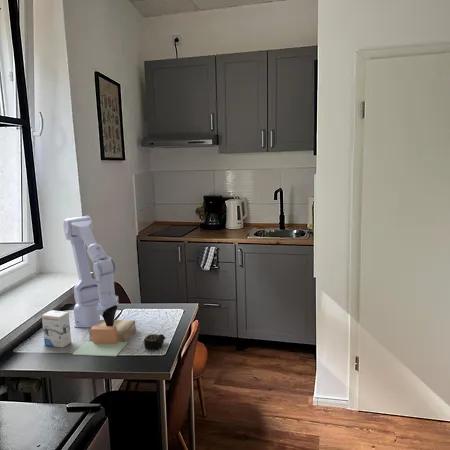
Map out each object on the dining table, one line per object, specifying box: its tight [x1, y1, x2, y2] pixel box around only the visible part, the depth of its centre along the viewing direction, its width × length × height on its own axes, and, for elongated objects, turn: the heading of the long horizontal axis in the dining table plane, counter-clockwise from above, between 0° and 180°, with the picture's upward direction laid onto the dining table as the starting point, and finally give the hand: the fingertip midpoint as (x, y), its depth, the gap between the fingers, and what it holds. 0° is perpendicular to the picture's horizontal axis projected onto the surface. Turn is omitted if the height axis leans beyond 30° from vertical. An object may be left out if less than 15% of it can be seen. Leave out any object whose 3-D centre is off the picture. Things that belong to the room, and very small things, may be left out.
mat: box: [72, 340, 128, 357], centre depth 147 cm, size 16×10×1 cm, turn 81°
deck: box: [88, 319, 137, 342], centre depth 158 cm, size 14×10×4 cm
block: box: [89, 326, 119, 344], centre depth 151 cm, size 9×6×2 cm
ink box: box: [41, 309, 72, 348], centre depth 152 cm, size 9×5×12 cm, turn 71°
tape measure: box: [143, 333, 166, 351], centre depth 147 cm, size 7×7×4 cm
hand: (110, 325), depth 155 cm, fingers closed
